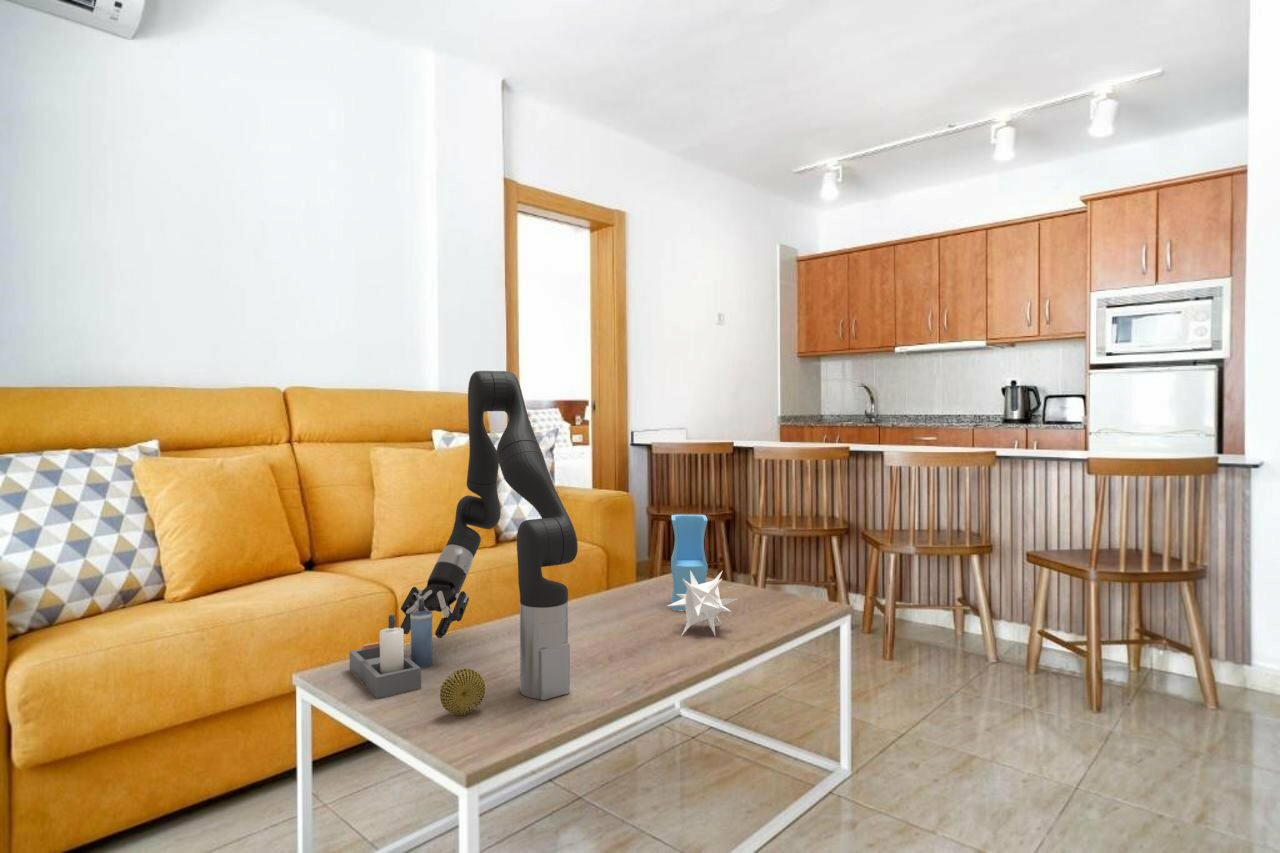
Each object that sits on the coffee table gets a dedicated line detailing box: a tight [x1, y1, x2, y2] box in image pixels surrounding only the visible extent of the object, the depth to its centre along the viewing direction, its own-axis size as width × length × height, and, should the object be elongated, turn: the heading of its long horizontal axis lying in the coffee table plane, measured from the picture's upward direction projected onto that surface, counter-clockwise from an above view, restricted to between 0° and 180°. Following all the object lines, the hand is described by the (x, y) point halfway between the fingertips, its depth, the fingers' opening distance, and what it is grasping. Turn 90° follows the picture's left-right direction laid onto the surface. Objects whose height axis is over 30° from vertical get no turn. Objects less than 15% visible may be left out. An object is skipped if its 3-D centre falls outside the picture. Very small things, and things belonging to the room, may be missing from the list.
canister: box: [410, 597, 433, 669], centre depth 151 cm, size 4×4×14 cm
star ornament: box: [667, 569, 738, 637], centre depth 175 cm, size 20×14×14 cm
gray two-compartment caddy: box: [349, 613, 422, 700], centre depth 143 cm, size 19×8×14 cm, turn 37°
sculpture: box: [439, 668, 486, 716], centre depth 126 cm, size 8×4×8 cm, turn 118°
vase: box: [670, 514, 709, 611], centre depth 197 cm, size 10×10×25 cm
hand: (421, 634), depth 151 cm, fingers open, 8 cm apart
